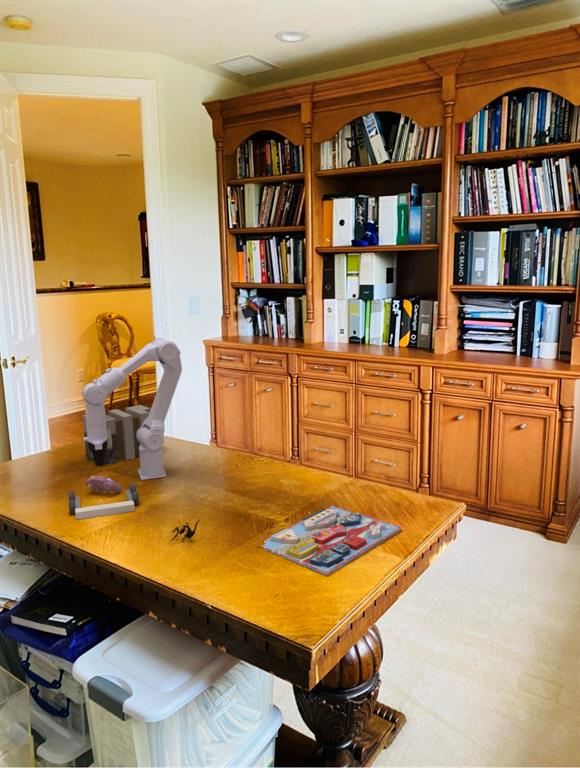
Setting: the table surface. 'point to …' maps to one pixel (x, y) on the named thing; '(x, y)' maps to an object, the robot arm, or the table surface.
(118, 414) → the bookend
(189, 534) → the creature
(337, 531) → the puzzle board
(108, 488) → the pink toy figurine
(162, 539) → the table surface
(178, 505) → the table surface
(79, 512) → the chassis
